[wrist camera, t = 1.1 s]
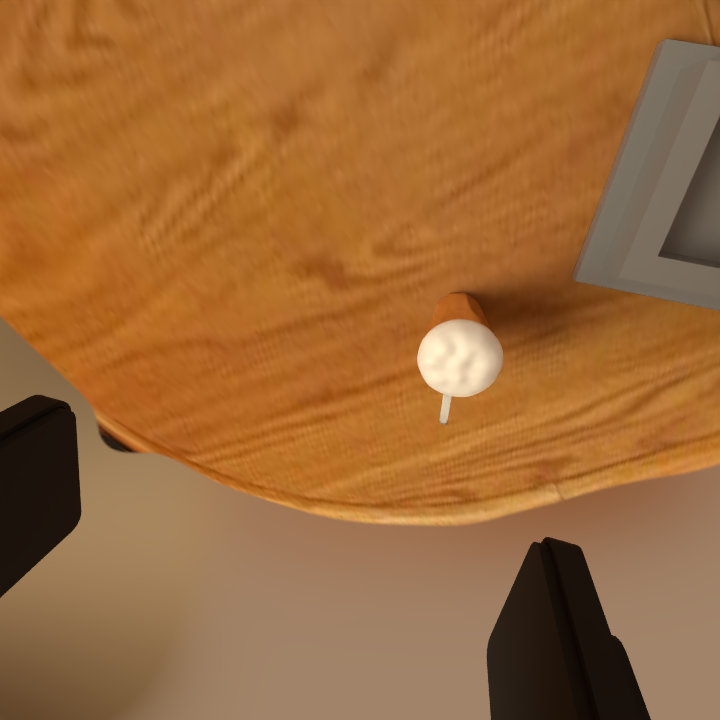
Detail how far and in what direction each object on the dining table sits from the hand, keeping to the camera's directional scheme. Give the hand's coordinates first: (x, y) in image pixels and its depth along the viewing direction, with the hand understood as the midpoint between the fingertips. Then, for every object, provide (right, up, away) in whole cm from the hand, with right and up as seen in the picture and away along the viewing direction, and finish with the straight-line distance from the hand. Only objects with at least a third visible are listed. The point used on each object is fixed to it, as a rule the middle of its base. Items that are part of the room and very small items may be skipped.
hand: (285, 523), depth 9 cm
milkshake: (+8, +6, +24) cm, 26 cm away
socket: (+23, +13, +18) cm, 32 cm away
